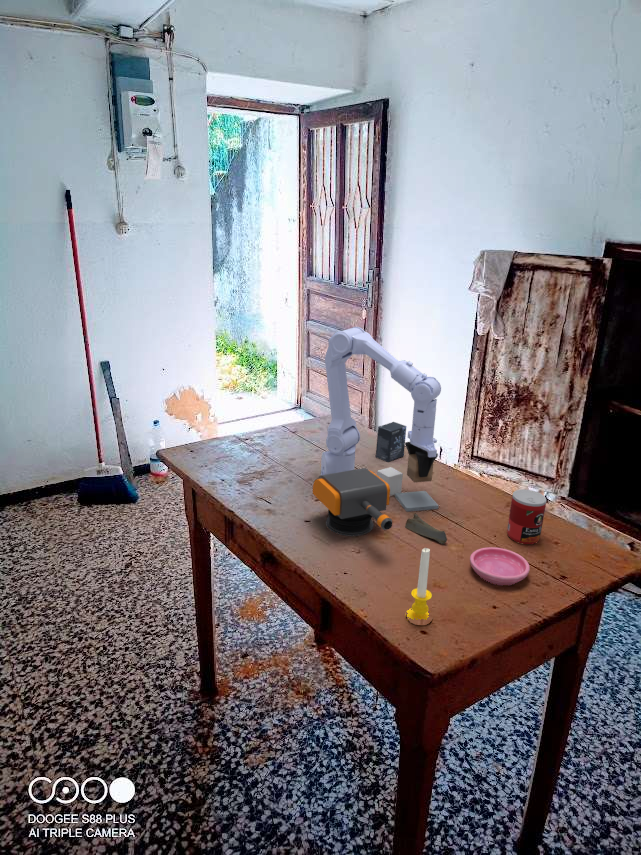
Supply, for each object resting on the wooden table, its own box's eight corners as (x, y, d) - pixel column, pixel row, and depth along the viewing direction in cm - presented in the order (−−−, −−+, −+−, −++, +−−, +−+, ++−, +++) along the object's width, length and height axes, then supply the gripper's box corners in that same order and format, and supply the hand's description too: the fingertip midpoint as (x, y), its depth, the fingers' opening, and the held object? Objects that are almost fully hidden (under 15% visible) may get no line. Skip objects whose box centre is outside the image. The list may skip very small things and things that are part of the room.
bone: (401, 525, 149) (402, 512, 148) (417, 521, 151) (418, 508, 150) (433, 550, 139) (434, 537, 137) (449, 546, 141) (451, 532, 140)
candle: (405, 624, 112) (411, 553, 107) (406, 607, 117) (412, 538, 112) (432, 628, 112) (441, 556, 106) (432, 611, 117) (440, 541, 111)
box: (388, 462, 186) (391, 431, 183) (375, 457, 190) (377, 426, 186) (404, 456, 191) (407, 425, 188) (391, 451, 195) (393, 421, 192)
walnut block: (414, 482, 157) (416, 461, 155) (406, 474, 161) (408, 454, 159) (431, 481, 158) (433, 460, 156) (423, 473, 162) (425, 453, 160)
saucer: (457, 564, 133) (458, 552, 132) (501, 553, 138) (503, 542, 137) (493, 596, 122) (495, 583, 121) (540, 583, 127) (542, 570, 126)
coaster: (406, 511, 155) (406, 508, 155) (394, 496, 164) (394, 493, 163) (438, 508, 157) (438, 505, 157) (424, 493, 166) (425, 490, 165)
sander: (357, 566, 131) (360, 515, 126) (310, 516, 152) (311, 470, 147) (413, 552, 137) (418, 503, 132) (361, 506, 158) (363, 462, 153)
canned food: (523, 548, 140) (530, 506, 136) (499, 532, 146) (505, 492, 143) (546, 541, 143) (554, 500, 139) (522, 526, 150) (528, 486, 146)
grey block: (387, 496, 164) (388, 477, 161) (376, 490, 167) (377, 470, 165) (401, 492, 166) (402, 473, 164) (389, 486, 170) (391, 467, 168)
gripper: (449, 432, 149) (444, 482, 153) (426, 414, 162) (422, 460, 166) (423, 434, 147) (419, 484, 152) (402, 416, 160) (398, 462, 165)
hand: (419, 472), depth 159 cm, fingers closed on walnut block, 5 cm apart
